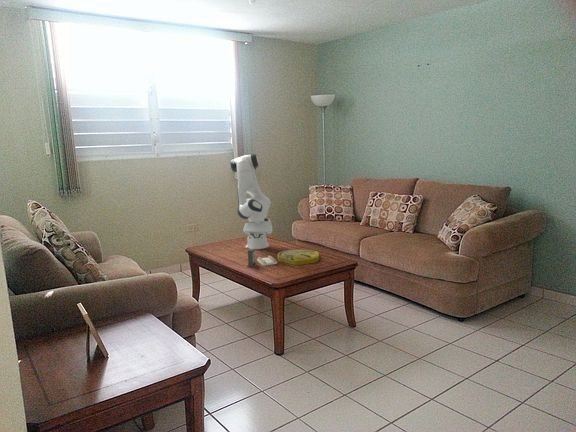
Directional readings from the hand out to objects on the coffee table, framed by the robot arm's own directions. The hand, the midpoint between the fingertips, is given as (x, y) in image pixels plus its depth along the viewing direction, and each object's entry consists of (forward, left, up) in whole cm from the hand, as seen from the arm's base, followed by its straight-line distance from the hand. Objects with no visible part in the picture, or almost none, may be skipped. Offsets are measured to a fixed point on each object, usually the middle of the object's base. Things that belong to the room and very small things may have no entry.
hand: (255, 238), depth 302 cm
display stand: (+4, +7, -16) cm, 18 cm away
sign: (-2, +29, -17) cm, 34 cm away
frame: (+11, -3, -16) cm, 20 cm away
